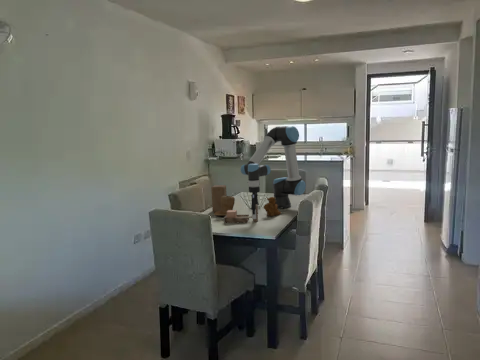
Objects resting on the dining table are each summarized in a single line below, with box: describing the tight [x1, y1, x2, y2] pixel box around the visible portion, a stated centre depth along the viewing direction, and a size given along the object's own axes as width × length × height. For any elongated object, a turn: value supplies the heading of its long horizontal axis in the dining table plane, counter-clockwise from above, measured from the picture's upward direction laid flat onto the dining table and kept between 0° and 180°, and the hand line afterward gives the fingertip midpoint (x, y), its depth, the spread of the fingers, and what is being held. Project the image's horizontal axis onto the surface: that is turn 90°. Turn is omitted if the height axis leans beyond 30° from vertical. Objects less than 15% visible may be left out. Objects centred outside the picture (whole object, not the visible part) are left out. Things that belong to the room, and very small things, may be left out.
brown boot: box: [213, 195, 236, 217], centre depth 298 cm, size 15×12×15 cm
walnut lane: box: [223, 214, 250, 224], centre depth 279 cm, size 16×10×4 cm, turn 82°
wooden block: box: [210, 184, 228, 213], centre depth 315 cm, size 10×10×20 cm
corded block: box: [227, 204, 259, 223], centre depth 278 cm, size 21×6×11 cm, turn 81°
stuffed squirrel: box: [262, 196, 282, 217], centre depth 292 cm, size 10×14×13 cm
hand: (255, 216), depth 277 cm, fingers open, 13 cm apart
